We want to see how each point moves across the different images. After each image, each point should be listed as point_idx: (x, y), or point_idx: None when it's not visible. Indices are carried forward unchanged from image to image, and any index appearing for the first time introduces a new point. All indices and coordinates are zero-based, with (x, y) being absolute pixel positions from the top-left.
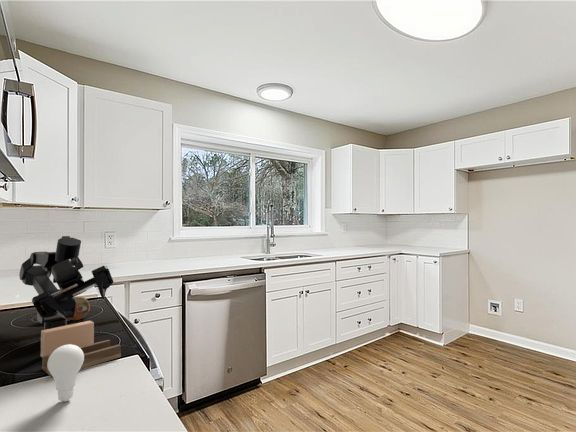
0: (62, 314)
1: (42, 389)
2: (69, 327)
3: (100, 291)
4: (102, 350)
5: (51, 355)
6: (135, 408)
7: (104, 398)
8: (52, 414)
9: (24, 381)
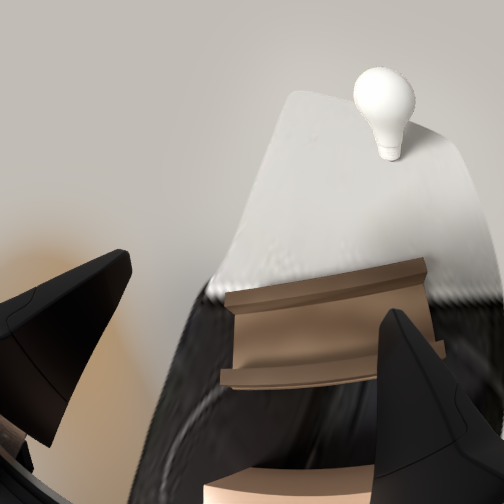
0: (411, 321)
1: (432, 222)
2: (316, 496)
3: (87, 271)
4: (280, 284)
5: (406, 79)
6: (311, 113)
7: (337, 142)
8: (403, 137)
9: (471, 294)
